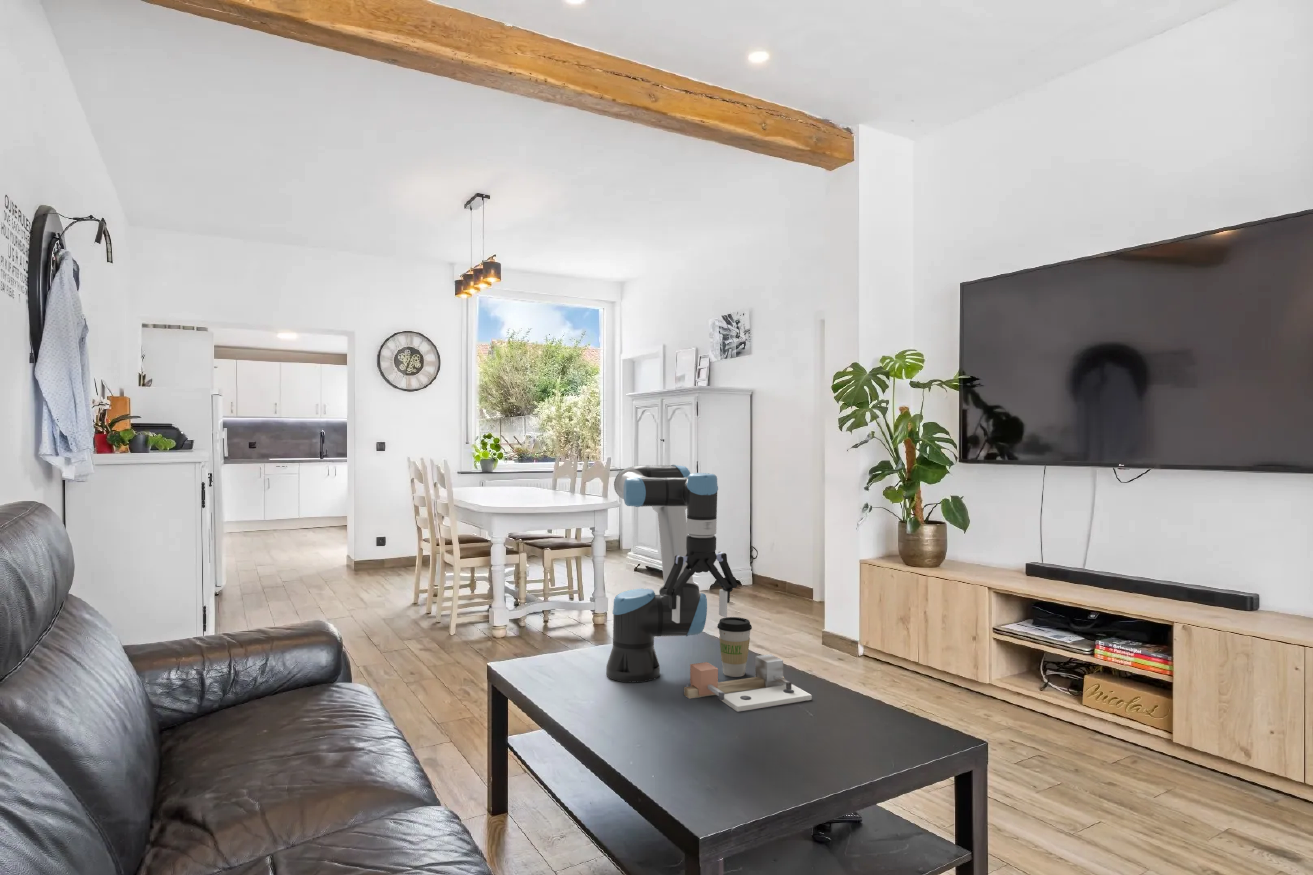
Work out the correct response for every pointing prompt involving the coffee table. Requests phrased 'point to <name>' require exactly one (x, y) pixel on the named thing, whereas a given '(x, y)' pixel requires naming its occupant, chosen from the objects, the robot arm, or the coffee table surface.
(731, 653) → the coffee cup
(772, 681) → the rail
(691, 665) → the sliding leg
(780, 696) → the hole plate
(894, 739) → the coffee table surface
